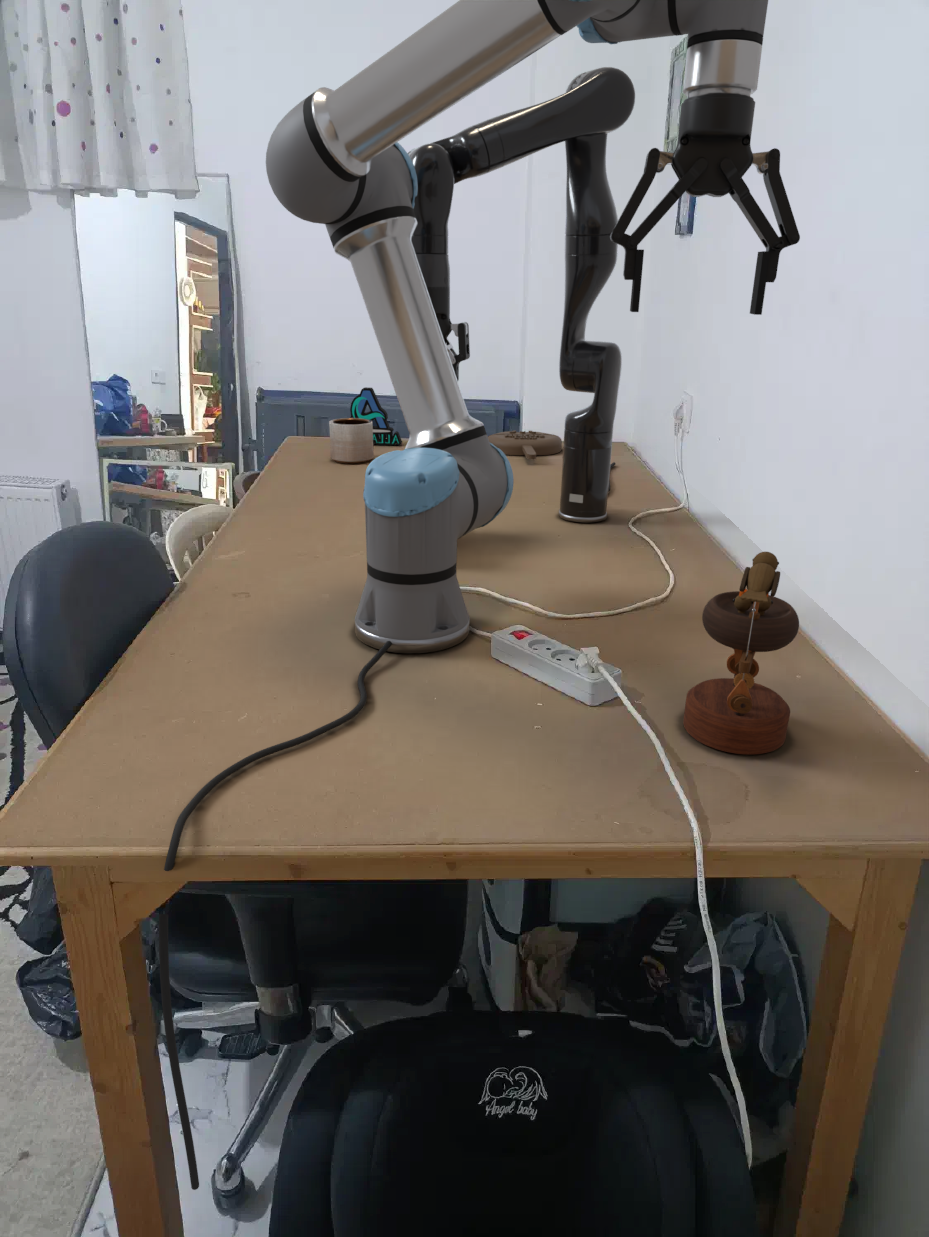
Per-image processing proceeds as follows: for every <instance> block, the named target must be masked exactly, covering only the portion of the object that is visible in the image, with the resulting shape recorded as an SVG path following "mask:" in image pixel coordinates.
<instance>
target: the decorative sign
mask: <svg viewBox="0 0 929 1237" xmlns="http://www.w3.org/2000/svg"><path fill="white" fill-rule="evenodd" d="M367 407H368V408H369V411H367V412H366V409H367ZM349 409H350V410H349V411H350V416H349V418H362V419H368V420H371V421H372V422H373V421H374V422H375V424H376V425H373V445H376V446H377V445H378V446H384V445H385V446H395V445H396V446H401V445H402V444H403V440H402V438H401V434H400V432H399V431H395V432H394V427H390V423H389V421H388V419H389V414H388V412H387V411H386V410H385V408H383V407H382V405H381V403H380V401H379V399H378V397H377V395H376V392H375V390H374V388H373V387H363V388H362V389H361V390H360V392H359V394H358V395H356V396H355V397H354V398H353V399H352V400H351V403H350V408H349ZM393 432H394V433H393Z"/></svg>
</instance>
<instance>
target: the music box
mask: <svg viewBox="0 0 929 1237" xmlns="http://www.w3.org/2000/svg"><path fill="white" fill-rule="evenodd" d="M778 560H779V559H777V556H776V555H775V554H774V553H773V552H770V551H761V552H758V553H757V554H756V555H755V556H754V557H753V558H752V566H751V567H750V566H745V568H744V572H743V574H742V578H741V581H740V585H739V588H738V589H739V590H738V591H737V590H735V591H734V590H733V591H726V592H722V593H718V594H716V595H714V596H712V598H710V599H709V600H708V602H707V603H706V604H705V606H704V608H703V610H702V614H701V615H702V617H701V619H702V620H701V621H702V625H703V628H704V630H705V632H706V633H707V634H708V635H709V637H711V639H712V640H714V641H716V642H717V643H719V644H721V645H722V646H725V647H728V648H731V649H733V652H734V653H732V654H730V655H729V656H728V657H727V659H726V668H727V670H728V671H729V672H730V673H732V674H733V678H729V677H728V678H727V677H724V678H723V677H721V678H719V677H718V678H710V679H706V680H703V681H701V682H699V683H697V684H696V685H694V686H692V687H691V688H690V689H689V690H687V693H686V698H685V705H684V713H683V720H682V722H683V723H682V724H683V727H684V729H685V731H686V732H687V733H688V734H689V735H690V737H692V738H693V739H695V740H696V741H697V742H699V743H701V744H703V745H705V746H707V747H709V748H712V749H715V750H719V751H721V752H725V753H726V752H727V753H730V754H738V755H761V754H762V755H763V754H767V753H771V752H773V751H777V750H778V749H780V748H781V747H782V746H783V745H784V743H785V742H786V738H787V732H788V727H789V722H790V717H791V716H790V715H791V708H790V706H789V704H788V703H787V701H785V699H784V698H783V697H782V696H781V695H780V694H779V693H777V692H776V691H774V690H773V689H771V688H769V687H767V686H765V685H763V684H760V683H758V682H755V679H754V678H756V677H757V675H758V674H759V672H760V666H759V663H758V661H757V660H756V659H755V658H754V657H755V655H756V653H768V652H774V651H778V650H782V649H783V648H785V647H786V646H788V645H790V644H791V642H793V641H794V639H795V638H796V637H797V634H798V633H799V629H800V619H799V616H798V613H797V611H796V610H795V608H794V607H793V606H792V605H791V604H790V603H789V602H787V601H786V600H784V599H781V598H779V597H776V594H777V591H778V588H779V583H780V579H781V571H778V570H777V569H778V566H779V565H780V561H778Z"/></svg>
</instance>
